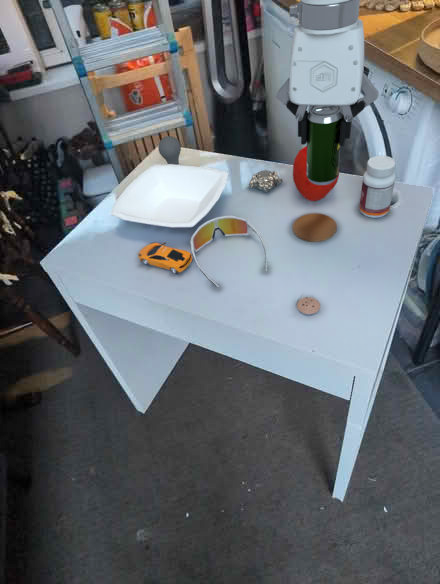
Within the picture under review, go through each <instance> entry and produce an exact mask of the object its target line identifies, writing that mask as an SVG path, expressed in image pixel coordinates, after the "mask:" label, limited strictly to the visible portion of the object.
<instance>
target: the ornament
mask: <svg viewBox="0 0 440 584" xmlns="http://www.w3.org/2000/svg"><path fill="white" fill-rule="evenodd" d="M249 180H250V181H249V183H248V188H249V189H250V188H251V189H255V190H260V191H263V192H270V191H271V189H273V188H274V187H277V186H278V185H281V184H282V183H283V178H281V177H280V176H279V175H278V172H277V171H275V170H268V169H264V170H260V171H258V172H257V173H253V175H252V177H251V179H249Z"/></svg>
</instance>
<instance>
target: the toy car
mask: <svg viewBox="0 0 440 584" xmlns="http://www.w3.org/2000/svg"><path fill="white" fill-rule="evenodd" d="M166 244H167V242H162V244H161V243H159V242H150V243H149V244H147V245H145V246H143V247H142V248H141V249H140V250H139V251H138V253H137V257H138V259H139V260H140V262H142V263H143V264H144V265H146V266H152V267H153V266H154V267H156V268H161V269H165V270H168V271H171V272H172V273H173V274H175V275H177V274H180V273H182V272H184V271H185V270H187V269H188V268H189V267H190V266H191V264H192V262H193V259H194V257H193V255H192V252H190V251H188V250H184V249H180V248H175V247H170V246H167V245H166Z"/></svg>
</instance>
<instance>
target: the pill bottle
mask: <svg viewBox="0 0 440 584" xmlns="http://www.w3.org/2000/svg"><path fill="white" fill-rule="evenodd" d="M395 168H396V160H395V159H394V158H393V157H390V156H388V155H374V156H372V157H370V158H369V159H368V160H367V163H366V171H364V173H363V175H362V181H361V188H360V189H361V190H360V197H359V205H358V207H359V208H358V210H359V212H360V213H361V214H362V215H363V216H365V217H368V218H373V219H375V218H376V219H379V218H382V217H384V216H387V214H388V213H390V210H391V204H392V200H393V195H394V194H393V193H394V189H395V183H396V173H395V170H396V169H395Z"/></svg>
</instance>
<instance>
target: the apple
mask: <svg viewBox="0 0 440 584" xmlns="http://www.w3.org/2000/svg"><path fill="white" fill-rule="evenodd" d="M339 177H340V173H339V174H338V176H337V178H336V180H335V181H334V182H332V183H330V184H327V185H316V184H313V183H311V182H310V181H309V179H308V177H307V145H306V146H304V147H302V148H301V149H300V150H299V151H298V152H297V154H296V156H295V158H294V161H293V164H292V180H293V183H294V185H295V188H296V190H298V193H299V194H300V195H301V196H302V197H303V198H304V199H306V200H307V201H309V202H317V201H321V200H322V199H324V198H326V196H328V194H329V193H330V192H331V191H332V190H333V189H334V188H335V186H336V185H337V183H338V181H339Z"/></svg>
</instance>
